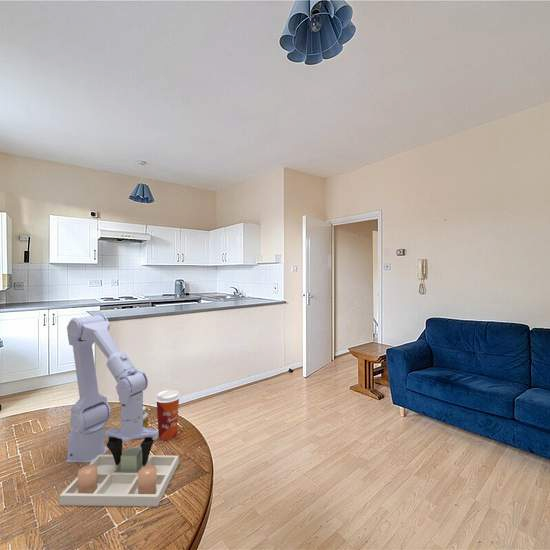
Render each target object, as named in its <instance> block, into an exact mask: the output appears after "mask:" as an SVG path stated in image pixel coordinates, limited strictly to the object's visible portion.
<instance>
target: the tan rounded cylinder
mask: <svg viewBox="0 0 550 550" xmlns="http://www.w3.org/2000/svg"><path fill="white" fill-rule="evenodd" d="M77 477H78V493H86V494H93V493H94V492H95V491H96V489H97V488H98V466H97V465H94V464H91V465H89V464H87V465H85V466H82V467H80V468H79V469H78V471H77Z"/></svg>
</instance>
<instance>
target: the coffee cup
mask: <svg viewBox="0 0 550 550" xmlns="http://www.w3.org/2000/svg"><path fill="white" fill-rule="evenodd" d="M156 394H157V395H156V397H155V401H156V411H157V412H156V413H157V430H159V436H158V438H160V439H159V440H162V441H170V440H172V439H174V438H175V437H176V436H177V433H178V421H179V420H178V417H179V403H180V397H181V395H180V392H179V391H178V390H177V389H176V390H175V389H166V390H162V391H159V393H156Z"/></svg>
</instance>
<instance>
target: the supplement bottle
mask: <svg viewBox="0 0 550 550" xmlns="http://www.w3.org/2000/svg"><path fill="white" fill-rule="evenodd" d="M143 427H145V428H149V414H148V412H147V407H146V406H144V405H143ZM136 440H138V438H137V439H136Z"/></svg>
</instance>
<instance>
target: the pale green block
mask: <svg viewBox="0 0 550 550" xmlns="http://www.w3.org/2000/svg"><path fill="white" fill-rule="evenodd" d="M142 467H143V465H142V449H141V446H128V447H127V448H126V449H125V451H123V452H122V455H121V473H138V472H139V470H140V469H141V468H142Z"/></svg>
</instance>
